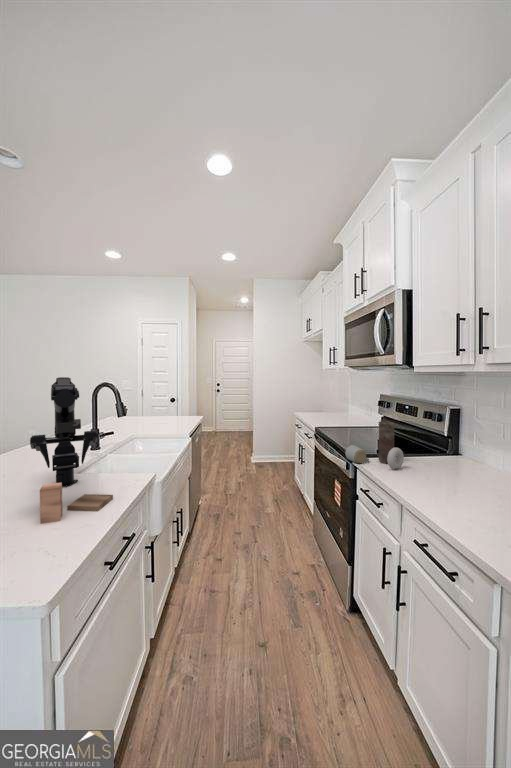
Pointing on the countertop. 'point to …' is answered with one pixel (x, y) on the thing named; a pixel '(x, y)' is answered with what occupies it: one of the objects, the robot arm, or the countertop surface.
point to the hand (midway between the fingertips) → (66, 465)
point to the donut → (394, 454)
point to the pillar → (50, 503)
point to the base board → (90, 502)
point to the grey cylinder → (356, 454)
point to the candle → (385, 440)
